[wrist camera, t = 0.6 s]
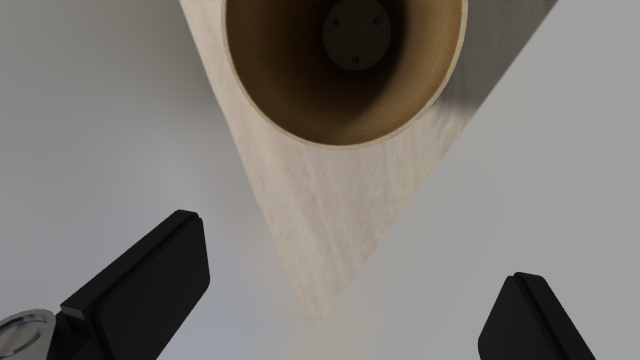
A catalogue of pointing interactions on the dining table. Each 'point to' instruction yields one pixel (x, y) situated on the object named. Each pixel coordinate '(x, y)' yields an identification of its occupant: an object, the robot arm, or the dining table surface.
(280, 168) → the dining table surface
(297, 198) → the dining table surface
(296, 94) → the plant pot
